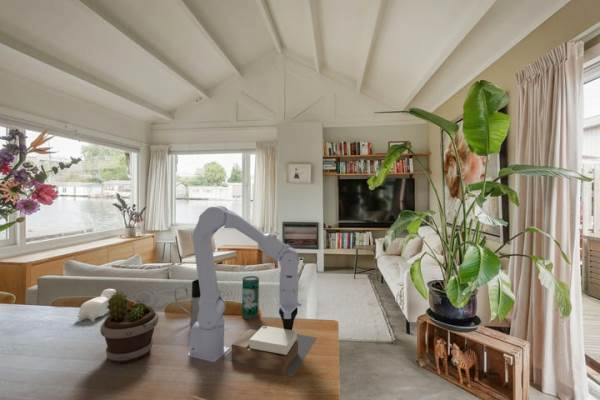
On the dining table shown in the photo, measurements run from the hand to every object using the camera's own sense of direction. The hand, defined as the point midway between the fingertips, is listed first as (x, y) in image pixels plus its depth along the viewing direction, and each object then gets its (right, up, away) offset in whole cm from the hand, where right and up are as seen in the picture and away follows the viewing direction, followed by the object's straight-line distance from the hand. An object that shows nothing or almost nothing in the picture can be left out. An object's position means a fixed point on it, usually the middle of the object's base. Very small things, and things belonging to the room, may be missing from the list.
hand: (288, 332), depth 85 cm
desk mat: (-5, -6, +1) cm, 8 cm away
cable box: (-6, -5, -4) cm, 9 cm away
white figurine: (-75, -5, +25) cm, 80 cm away
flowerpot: (-47, -5, -3) cm, 47 cm away
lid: (-4, -1, -4) cm, 6 cm away
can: (-16, -6, +26) cm, 31 cm away
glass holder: (-36, -6, +20) cm, 42 cm away
